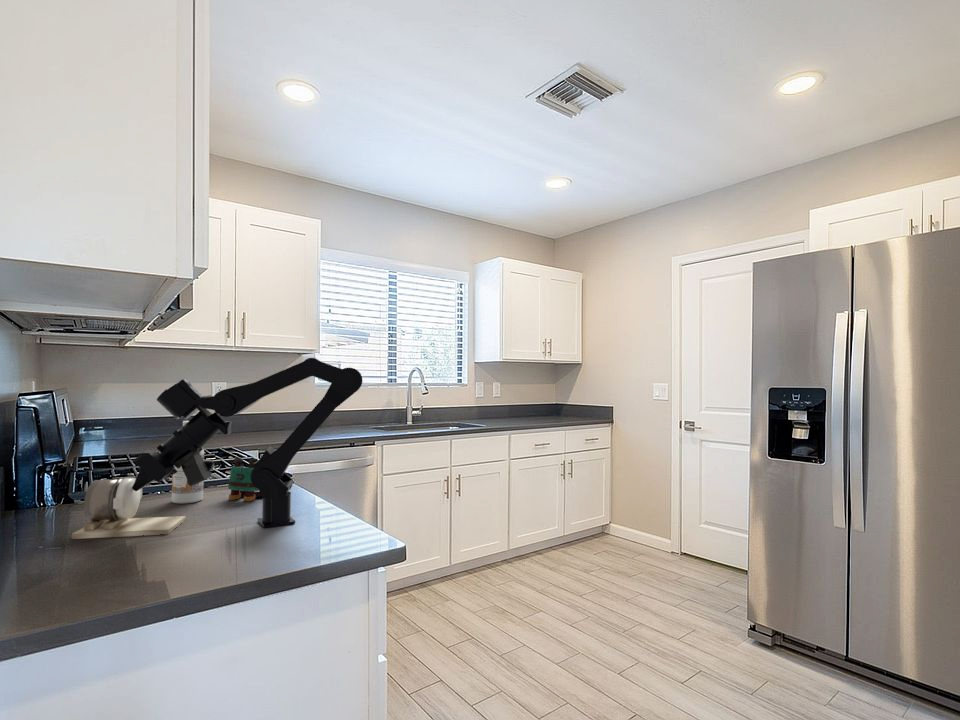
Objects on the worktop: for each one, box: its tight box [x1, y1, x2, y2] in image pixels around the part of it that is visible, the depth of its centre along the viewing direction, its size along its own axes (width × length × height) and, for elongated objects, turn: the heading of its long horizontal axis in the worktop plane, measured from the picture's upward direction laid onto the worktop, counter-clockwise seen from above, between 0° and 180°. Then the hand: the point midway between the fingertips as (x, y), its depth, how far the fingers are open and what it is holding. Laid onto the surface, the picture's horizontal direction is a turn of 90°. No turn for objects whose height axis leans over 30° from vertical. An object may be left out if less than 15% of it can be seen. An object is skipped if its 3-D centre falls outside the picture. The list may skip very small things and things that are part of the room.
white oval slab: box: [113, 477, 143, 519], centre depth 109 cm, size 2×10×8 cm, turn 12°
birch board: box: [71, 515, 186, 540], centre depth 109 cm, size 17×10×2 cm, turn 102°
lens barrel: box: [83, 477, 125, 522], centre depth 108 cm, size 5×8×8 cm, turn 12°
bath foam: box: [171, 420, 205, 505], centre depth 134 cm, size 7×7×20 cm
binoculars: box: [228, 456, 261, 502], centre depth 138 cm, size 9×11×10 cm
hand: (134, 489), depth 109 cm, fingers closed, pressing on white oval slab
